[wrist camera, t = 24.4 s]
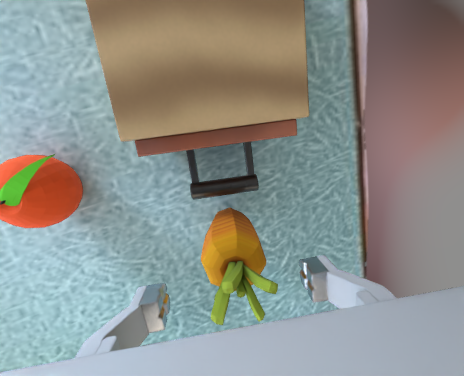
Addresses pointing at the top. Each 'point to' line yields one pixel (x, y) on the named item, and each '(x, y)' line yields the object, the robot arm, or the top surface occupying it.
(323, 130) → the top surface
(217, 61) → the cabinet
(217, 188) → the drawer
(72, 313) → the top surface
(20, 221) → the clementine
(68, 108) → the top surface
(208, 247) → the carrot
